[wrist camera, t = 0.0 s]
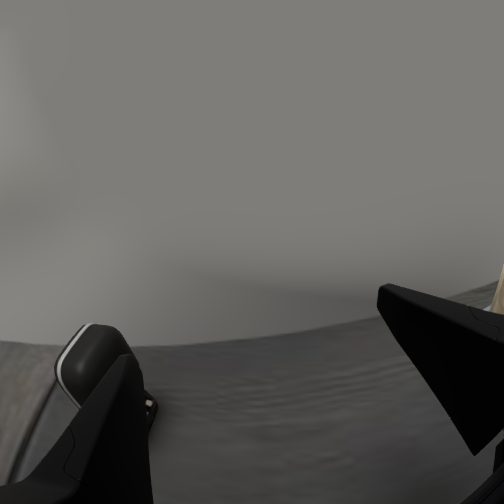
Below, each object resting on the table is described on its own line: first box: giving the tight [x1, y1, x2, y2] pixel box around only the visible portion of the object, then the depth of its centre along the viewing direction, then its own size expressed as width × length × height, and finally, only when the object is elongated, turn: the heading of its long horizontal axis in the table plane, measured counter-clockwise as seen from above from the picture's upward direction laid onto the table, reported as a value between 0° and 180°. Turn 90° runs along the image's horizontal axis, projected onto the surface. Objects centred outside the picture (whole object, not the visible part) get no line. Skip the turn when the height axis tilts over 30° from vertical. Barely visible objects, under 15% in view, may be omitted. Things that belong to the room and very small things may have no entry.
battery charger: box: [54, 323, 157, 431], centre depth 19 cm, size 7×4×11 cm, turn 174°
